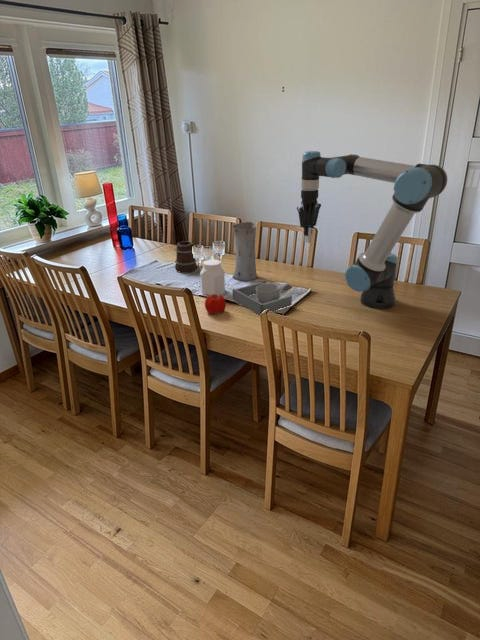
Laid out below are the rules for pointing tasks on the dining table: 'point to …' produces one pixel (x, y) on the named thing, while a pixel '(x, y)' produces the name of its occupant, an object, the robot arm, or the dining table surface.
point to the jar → (212, 278)
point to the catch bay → (243, 298)
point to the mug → (185, 257)
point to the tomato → (215, 304)
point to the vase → (245, 251)
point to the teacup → (267, 292)
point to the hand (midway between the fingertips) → (307, 242)
